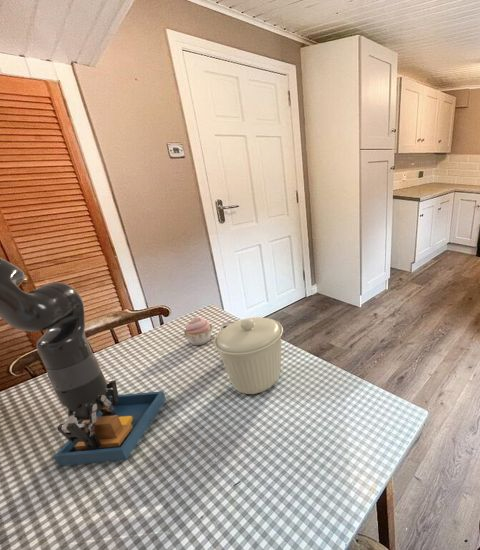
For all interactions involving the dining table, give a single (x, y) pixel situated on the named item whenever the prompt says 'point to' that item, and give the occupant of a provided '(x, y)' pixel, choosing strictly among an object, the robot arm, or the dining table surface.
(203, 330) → the cupcake
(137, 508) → the dining table surface
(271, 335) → the canister
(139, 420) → the tray
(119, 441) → the brown wooden stepped block
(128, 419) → the yellow square block
